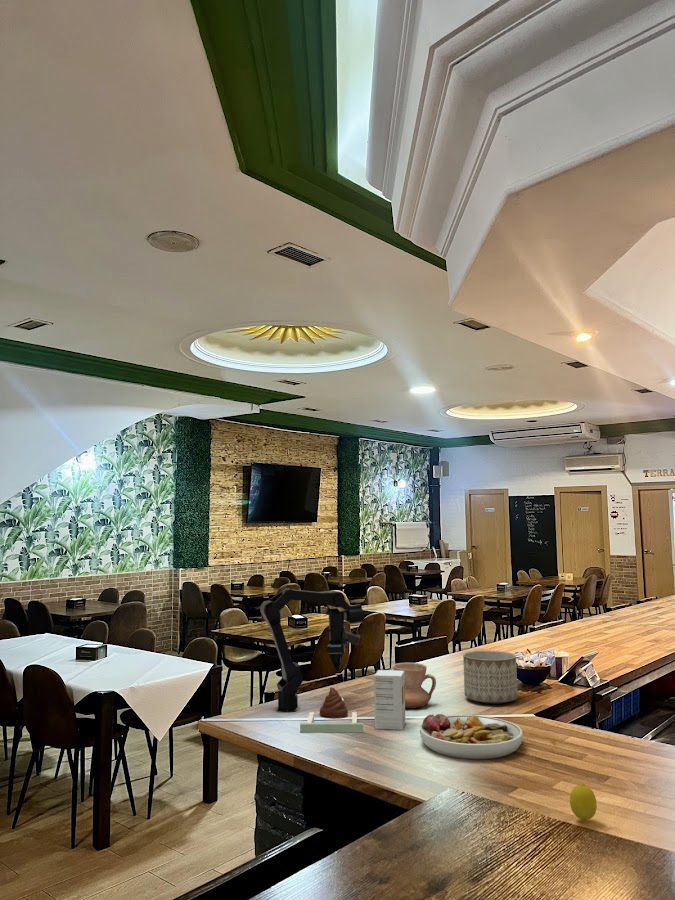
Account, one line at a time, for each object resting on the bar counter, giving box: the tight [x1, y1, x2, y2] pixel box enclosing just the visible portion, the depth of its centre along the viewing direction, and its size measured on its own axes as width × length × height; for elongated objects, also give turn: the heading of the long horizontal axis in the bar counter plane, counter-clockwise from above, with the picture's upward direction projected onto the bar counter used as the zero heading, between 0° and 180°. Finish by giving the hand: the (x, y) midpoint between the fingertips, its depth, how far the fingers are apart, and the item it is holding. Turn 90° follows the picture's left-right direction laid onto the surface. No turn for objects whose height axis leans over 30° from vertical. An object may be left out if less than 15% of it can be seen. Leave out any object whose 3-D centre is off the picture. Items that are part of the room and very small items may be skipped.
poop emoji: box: [319, 686, 349, 719], centre depth 236 cm, size 10×8×9 cm
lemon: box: [569, 782, 598, 823], centre depth 149 cm, size 6×6×8 cm
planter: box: [462, 650, 519, 705], centre depth 254 cm, size 19×19×16 cm
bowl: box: [419, 713, 523, 760], centre depth 202 cm, size 30×30×8 cm
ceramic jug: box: [392, 662, 437, 709], centre depth 247 cm, size 18×14×14 cm
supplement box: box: [373, 669, 406, 731], centre depth 223 cm, size 10×9×17 cm
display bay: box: [299, 711, 364, 734], centre depth 223 cm, size 20×14×2 cm
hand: (338, 668), depth 251 cm, fingers open, 9 cm apart
